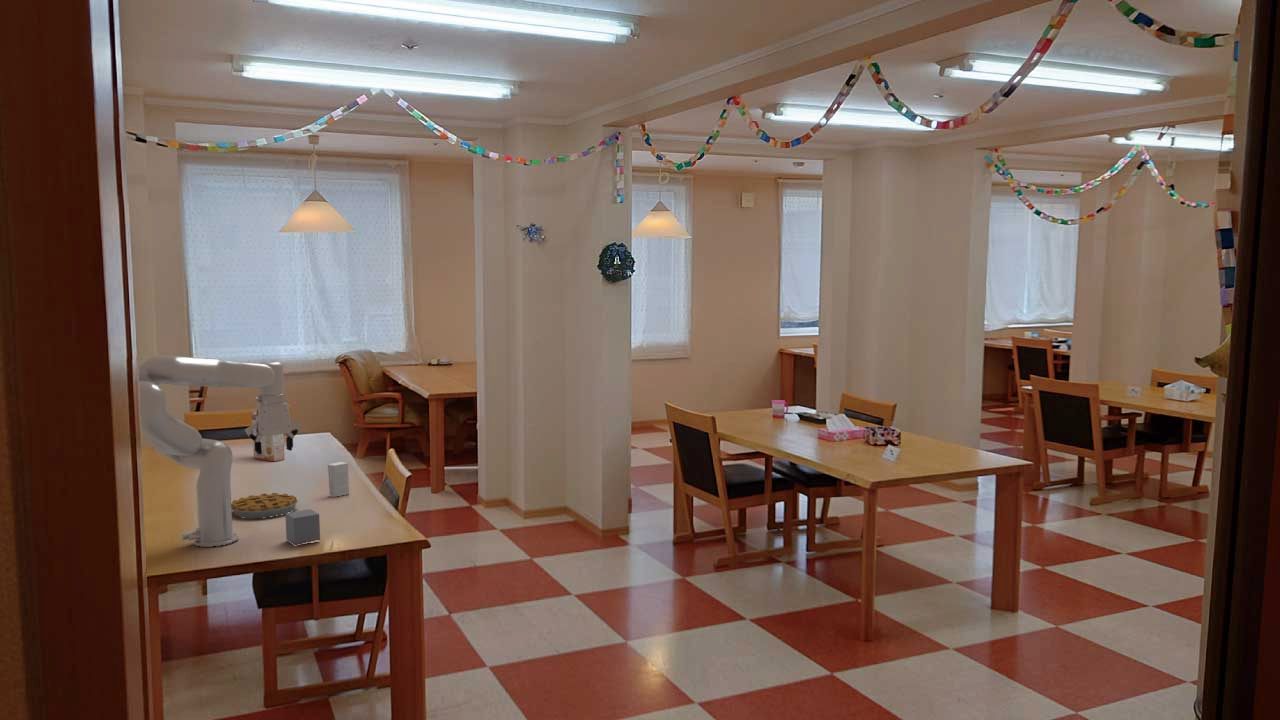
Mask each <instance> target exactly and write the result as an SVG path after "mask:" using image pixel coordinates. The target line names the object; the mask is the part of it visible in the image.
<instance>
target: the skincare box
mask: <svg viewBox="0 0 1280 720" xmlns="http://www.w3.org/2000/svg"><path fill="white" fill-rule="evenodd" d="M327 471H328V473H327V476H328V490H329V496H330V495H331V496H330V497H332V496H335V497H334V498H338V497H337V496H340V497H342V496H341V495H344V496H346V495H345V494H348V495H350V482H349V481H350V478H349V477H350V476H349V463H348V462H344V461H338V462H334V463H329V464H327Z"/></svg>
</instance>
